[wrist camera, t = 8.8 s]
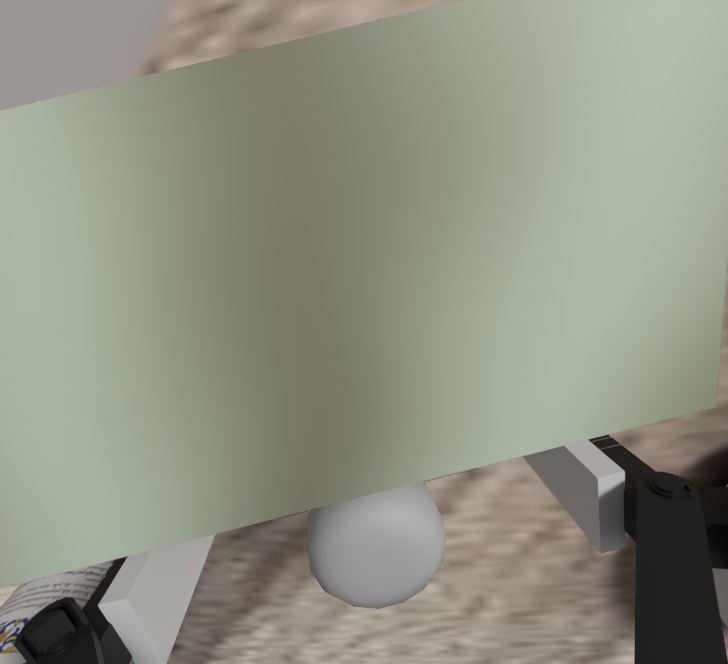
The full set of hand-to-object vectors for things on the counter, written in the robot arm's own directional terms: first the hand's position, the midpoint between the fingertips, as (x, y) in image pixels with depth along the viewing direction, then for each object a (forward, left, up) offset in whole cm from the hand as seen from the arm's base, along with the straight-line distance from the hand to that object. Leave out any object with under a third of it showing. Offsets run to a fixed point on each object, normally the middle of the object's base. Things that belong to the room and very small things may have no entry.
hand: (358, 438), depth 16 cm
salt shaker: (0, 0, -7) cm, 7 cm away
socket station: (0, +3, -7) cm, 8 cm away
